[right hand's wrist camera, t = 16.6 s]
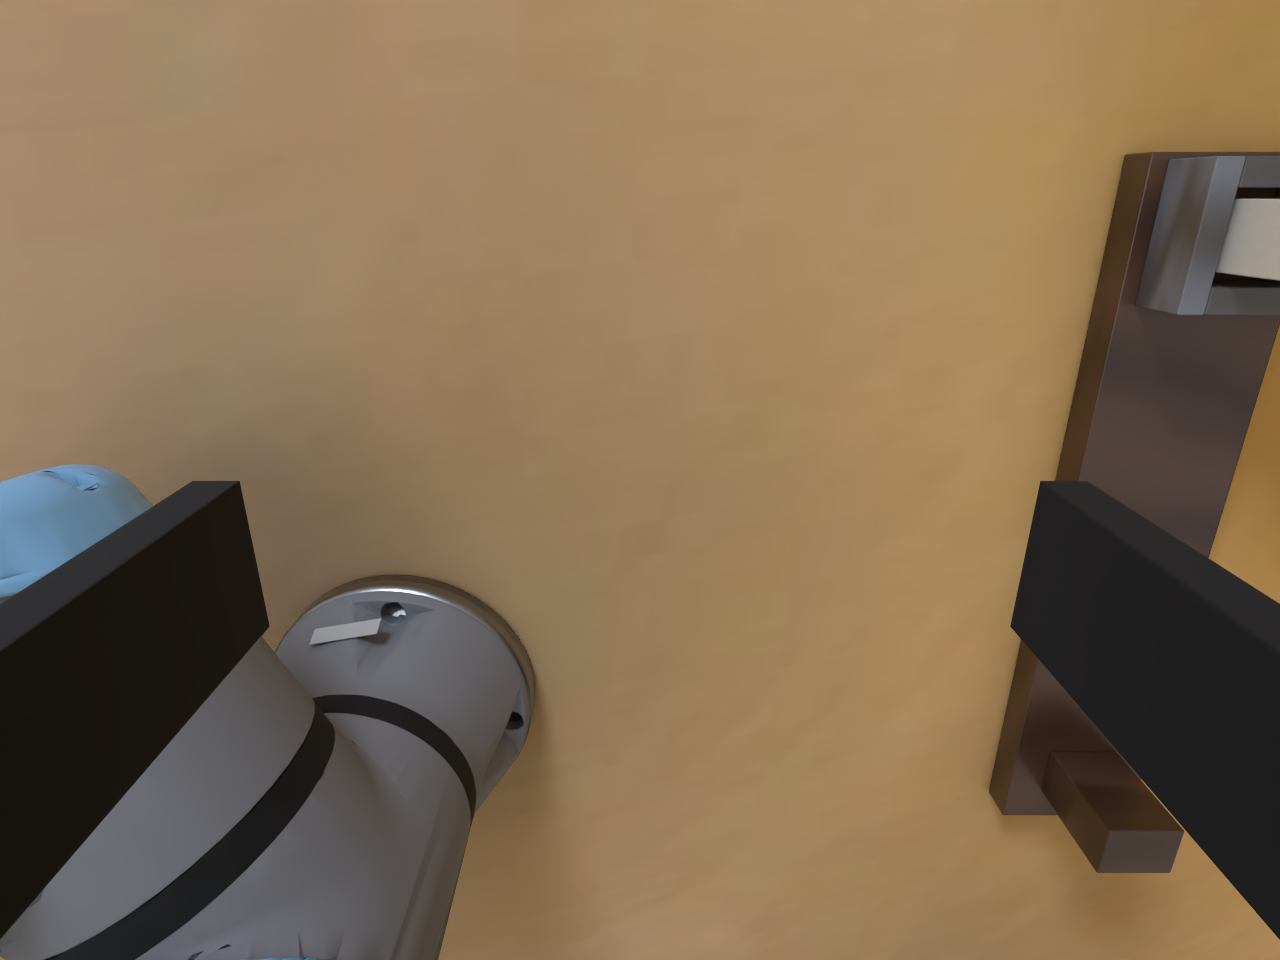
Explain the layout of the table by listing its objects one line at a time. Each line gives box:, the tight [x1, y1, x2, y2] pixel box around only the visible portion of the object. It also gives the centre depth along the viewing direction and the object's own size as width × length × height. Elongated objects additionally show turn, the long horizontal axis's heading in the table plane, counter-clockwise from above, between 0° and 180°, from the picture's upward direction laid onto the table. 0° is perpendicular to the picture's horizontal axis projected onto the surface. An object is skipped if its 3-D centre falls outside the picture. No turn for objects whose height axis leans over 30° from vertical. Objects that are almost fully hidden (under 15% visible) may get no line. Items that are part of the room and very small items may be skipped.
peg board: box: [989, 152, 1280, 873], centre depth 38 cm, size 38×8×8 cm, turn 0°
